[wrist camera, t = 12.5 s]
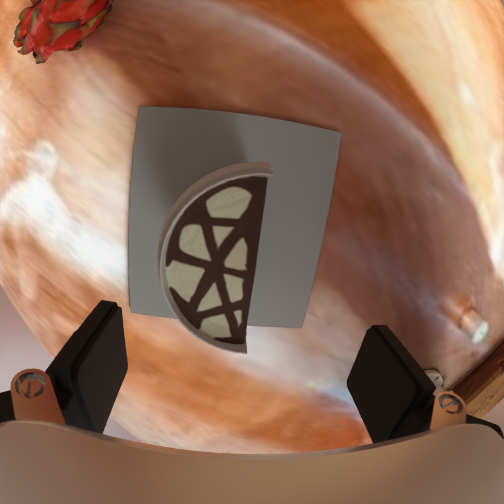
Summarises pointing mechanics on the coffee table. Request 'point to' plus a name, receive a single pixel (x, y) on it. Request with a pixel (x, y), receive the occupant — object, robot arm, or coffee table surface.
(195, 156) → the mat
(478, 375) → the brown flat wooden box
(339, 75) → the coffee table surface
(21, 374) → the robot arm
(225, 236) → the food container
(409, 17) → the coffee table surface
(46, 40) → the dragon fruit
